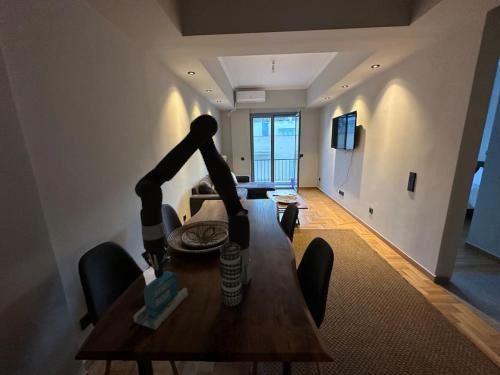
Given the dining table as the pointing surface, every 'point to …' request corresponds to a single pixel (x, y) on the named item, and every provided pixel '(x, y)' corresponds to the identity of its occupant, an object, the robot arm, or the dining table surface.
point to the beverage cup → (149, 275)
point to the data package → (160, 293)
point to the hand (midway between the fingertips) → (159, 276)
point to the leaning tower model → (231, 273)
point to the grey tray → (155, 322)
